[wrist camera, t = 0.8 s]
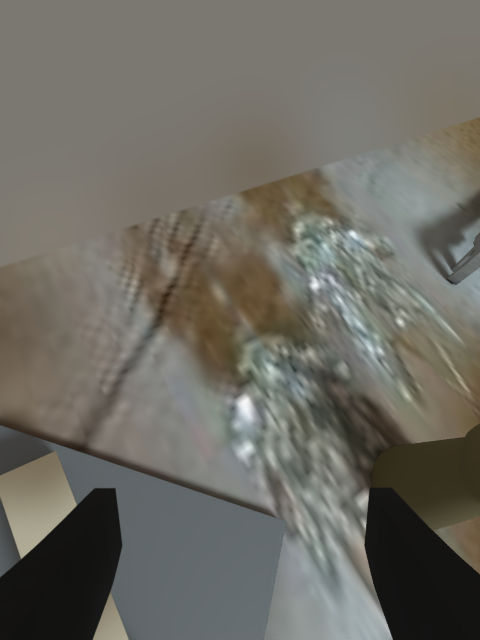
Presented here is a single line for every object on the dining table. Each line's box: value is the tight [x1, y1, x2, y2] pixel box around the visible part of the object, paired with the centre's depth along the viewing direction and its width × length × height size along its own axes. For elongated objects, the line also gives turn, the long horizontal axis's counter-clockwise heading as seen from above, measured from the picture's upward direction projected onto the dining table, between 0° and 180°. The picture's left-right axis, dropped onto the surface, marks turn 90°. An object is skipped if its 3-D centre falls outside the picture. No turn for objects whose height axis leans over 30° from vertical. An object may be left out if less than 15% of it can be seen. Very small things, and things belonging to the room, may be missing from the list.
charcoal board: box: [0, 425, 286, 640], centre depth 22 cm, size 18×26×1 cm
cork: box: [372, 424, 480, 530], centre depth 27 cm, size 6×6×11 cm
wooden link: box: [0, 451, 129, 640], centre depth 21 cm, size 15×4×4 cm, turn 29°
